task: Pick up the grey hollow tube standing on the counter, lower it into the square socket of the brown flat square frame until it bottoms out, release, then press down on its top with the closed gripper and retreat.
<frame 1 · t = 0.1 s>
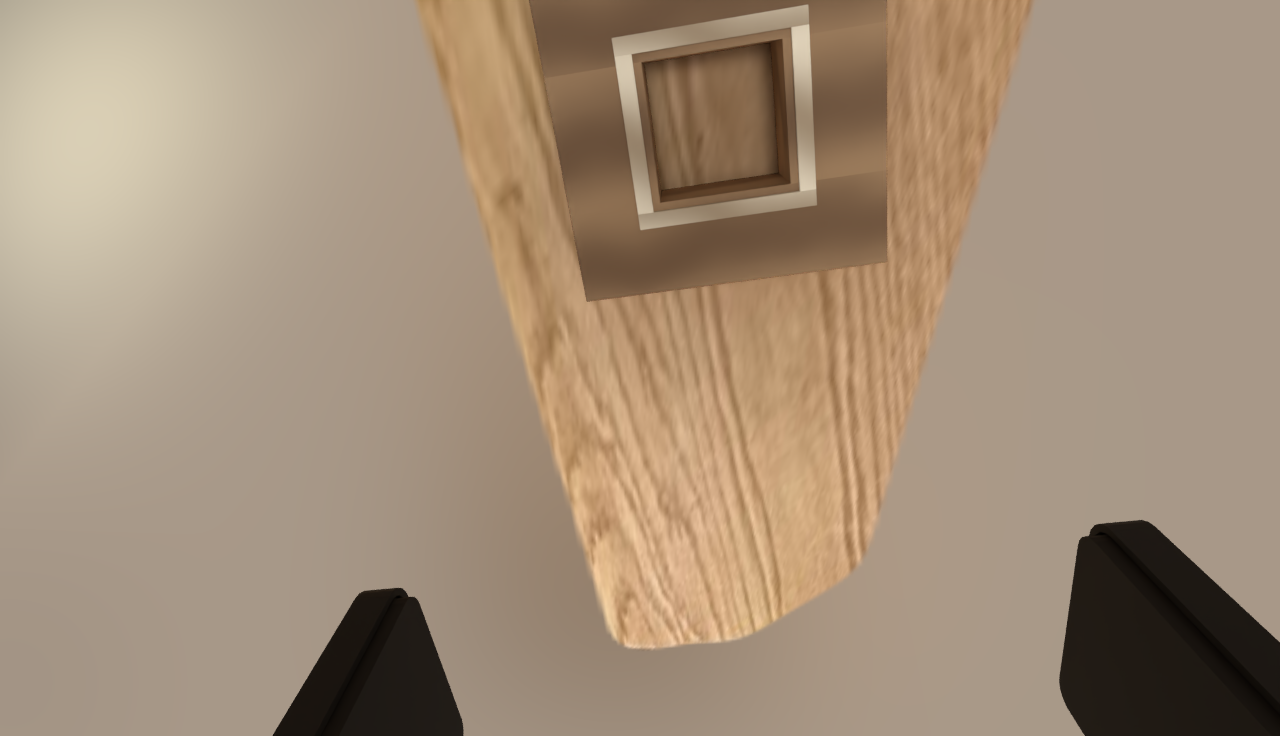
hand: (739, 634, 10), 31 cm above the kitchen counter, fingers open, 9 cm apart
brown flat square frame: (713, 119, 36), on the kitchen counter
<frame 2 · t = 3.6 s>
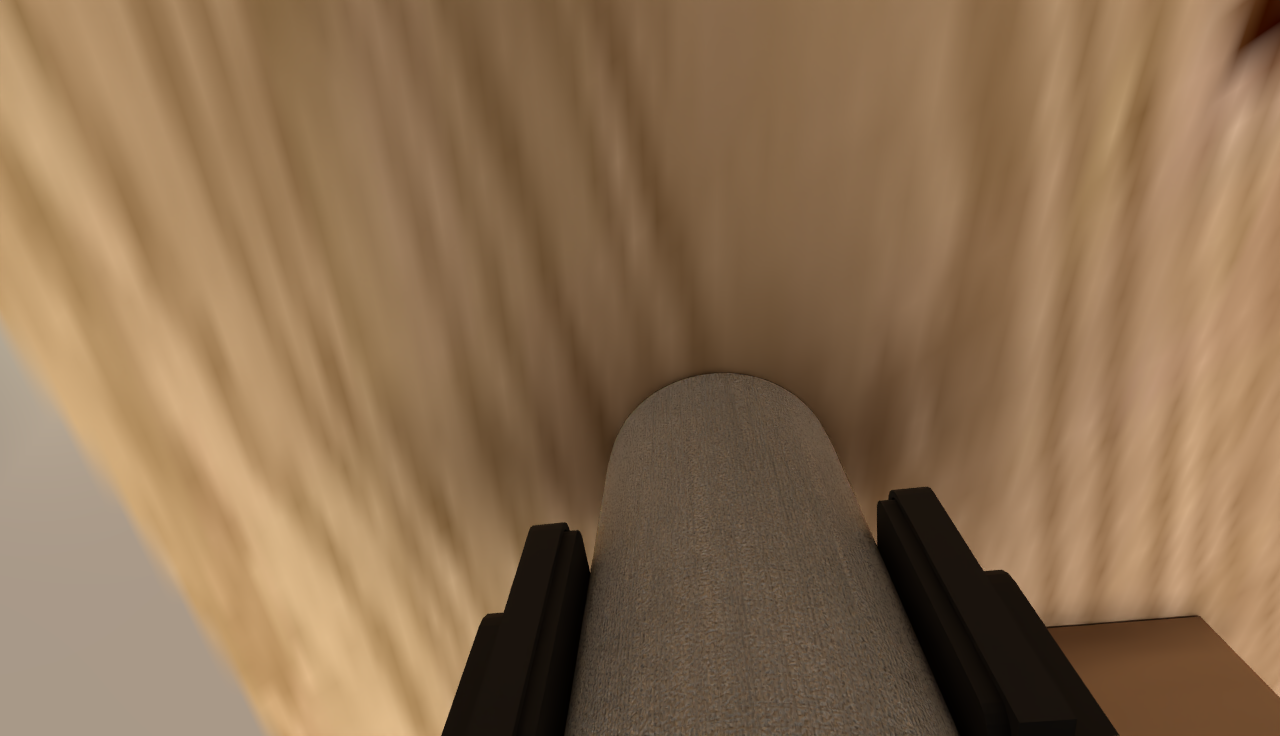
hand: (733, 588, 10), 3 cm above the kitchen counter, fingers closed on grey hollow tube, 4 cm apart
grey hollow tube: (718, 465, 14), on the kitchen counter, touching gripper
when the fingers open (5 cm above the kitchen counter, at t = 8.5 s): grey hollow tube drops 1 cm, resting in brown flat square frame.
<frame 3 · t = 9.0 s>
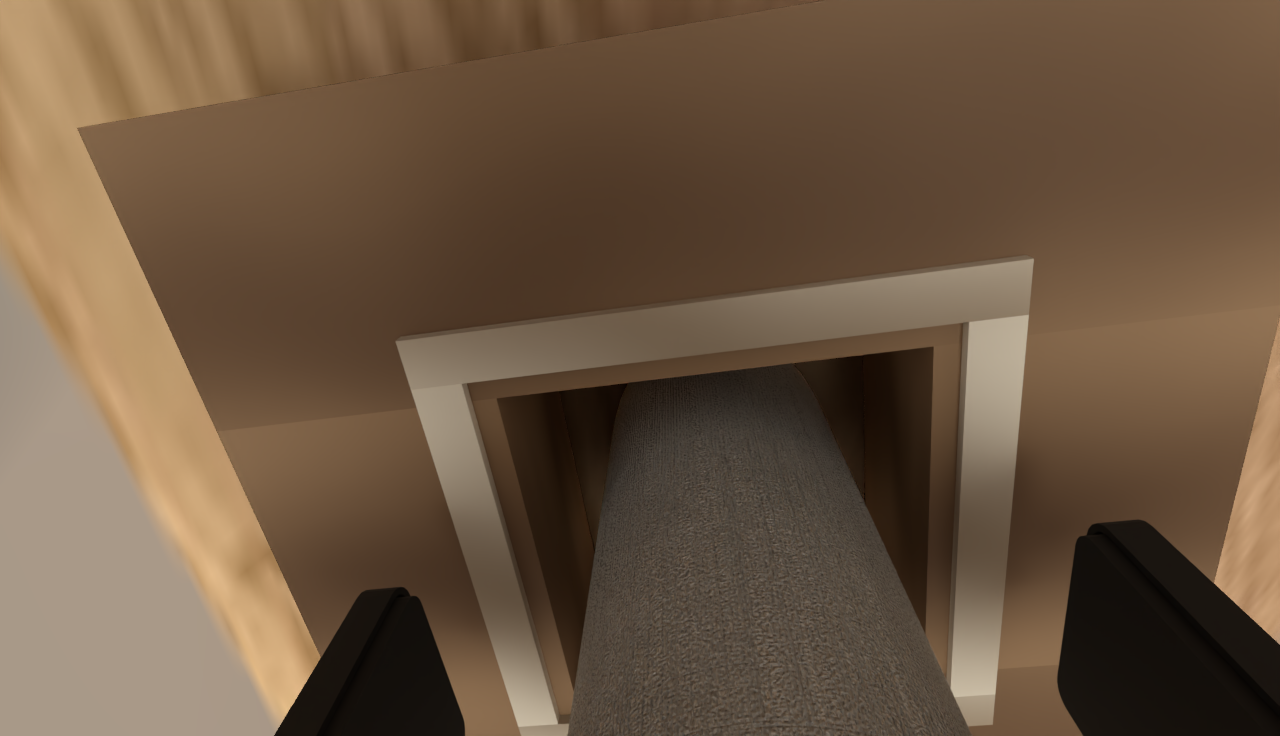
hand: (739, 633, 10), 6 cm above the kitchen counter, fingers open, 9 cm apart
brown flat square frame: (714, 432, 15), on the kitchen counter
grey hollow tube: (715, 422, 15), resting in brown flat square frame
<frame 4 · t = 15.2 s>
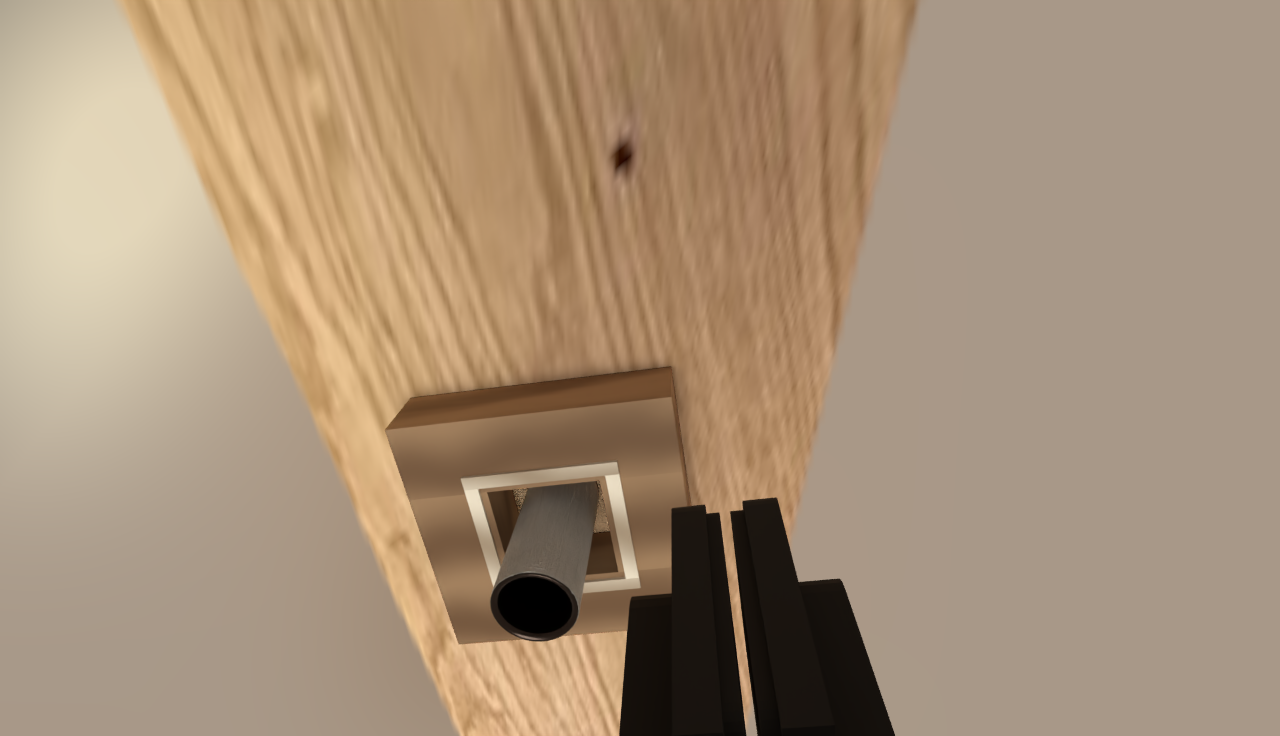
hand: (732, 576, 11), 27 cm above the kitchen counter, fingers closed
brown flat square frame: (564, 494, 43), on the kitchen counter
grey hollow tube: (564, 490, 43), resting in brown flat square frame
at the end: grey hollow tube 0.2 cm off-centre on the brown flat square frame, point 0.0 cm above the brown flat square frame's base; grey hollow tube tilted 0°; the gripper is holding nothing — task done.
